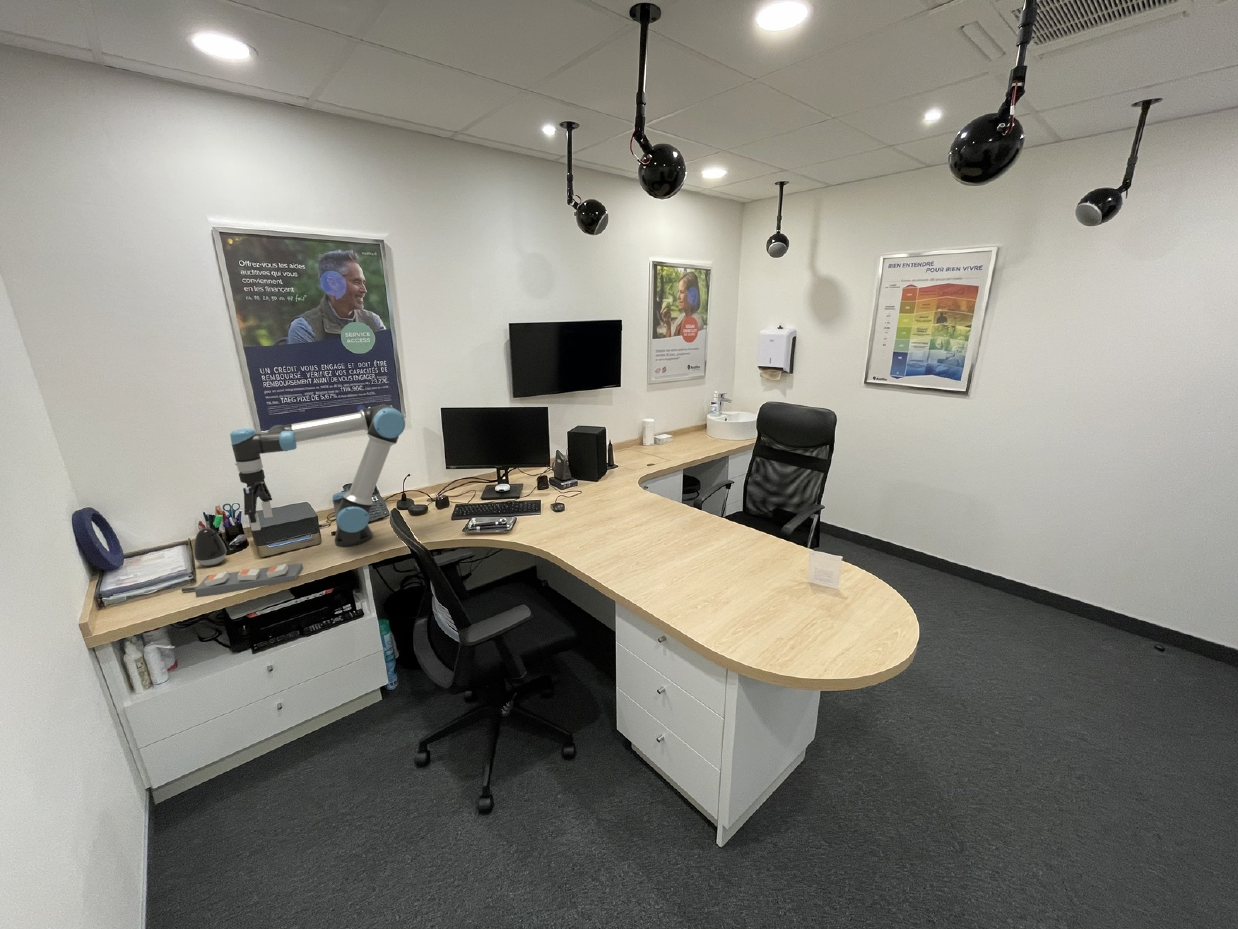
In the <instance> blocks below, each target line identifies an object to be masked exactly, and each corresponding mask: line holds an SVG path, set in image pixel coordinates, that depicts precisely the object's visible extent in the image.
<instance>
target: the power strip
mask: <svg viewBox="0 0 1238 929" xmlns="http://www.w3.org/2000/svg"><path fill="white" fill-rule="evenodd" d="M287 565H288V570H287V571H286V573H285V574H282V575H278V576H275V577H271V578H268V576H267V572H268V571H269V569H270V568H272V567H273V566H271V567H270V566H269V567H263V568H259V569H260V575H259V576H258V578H257V579H256V580H238V574H239V573H240V572H241V570H240V571H232V572H228V574H229V577H228V578H227V580H226V581H225V582H222V583H219V584H215V585H211V586H208V587H207V586H206V584H205V581H206V580H207V579H208V578H209V576H212V575H213V574H211V575H209V574H208V575H207V576H206V577H205V578H204V579H203V580H202V581H201V582H200V583H199V584H198V585H197V586H190V587H182V588H181V592H183V593H184V592H191V591H194V592H195V593H194V594H195V597H196V598H199V597H200V598H201V597H207V596H213V595H220V594H226V593H234V592H240V591H243V590H244V591H245V590H250V589H254V588H255V589H256V588H260V587H266V586H272V585H276V584H282V583H288V582H294V581H297V579H298V577H299V575H300V573H301V572H302V570H303V569H304V566H303V562H301V563H294V564H293V563H292V564H287Z"/></svg>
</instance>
